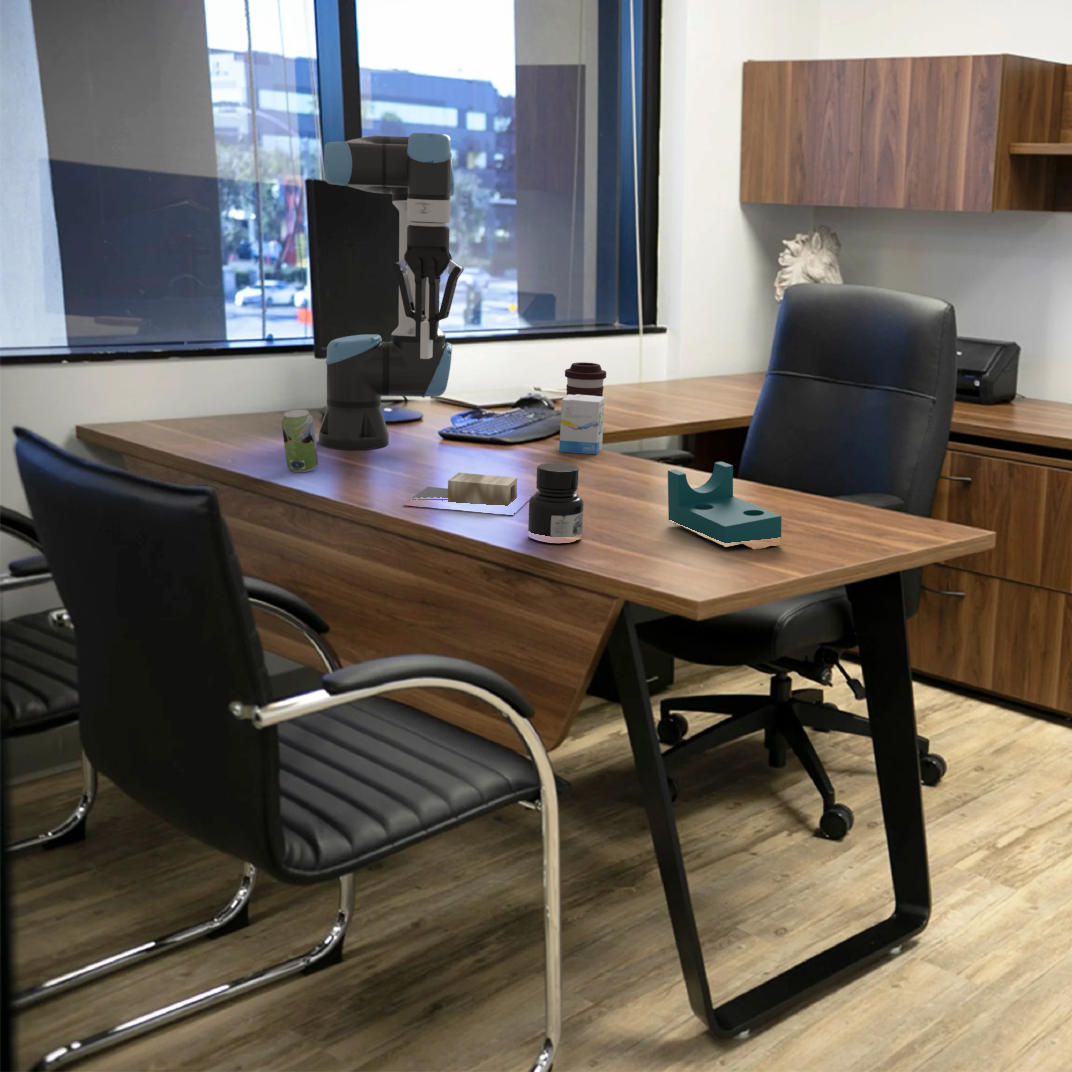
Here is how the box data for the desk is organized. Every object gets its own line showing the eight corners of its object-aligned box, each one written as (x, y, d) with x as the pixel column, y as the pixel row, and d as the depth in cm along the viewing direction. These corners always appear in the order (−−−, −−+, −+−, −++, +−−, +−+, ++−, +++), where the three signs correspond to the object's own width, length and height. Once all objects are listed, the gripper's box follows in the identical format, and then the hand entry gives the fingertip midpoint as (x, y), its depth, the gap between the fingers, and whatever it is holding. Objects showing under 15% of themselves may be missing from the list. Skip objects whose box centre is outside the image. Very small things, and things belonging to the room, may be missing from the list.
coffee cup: (556, 427, 314) (559, 364, 310) (571, 420, 323) (573, 360, 319) (595, 431, 310) (598, 368, 306) (609, 425, 319) (612, 363, 315)
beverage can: (323, 469, 260) (323, 409, 257) (305, 476, 253) (304, 414, 250) (295, 465, 262) (294, 406, 258) (276, 472, 255) (275, 411, 252)
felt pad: (404, 506, 233) (404, 503, 233) (427, 489, 246) (427, 486, 246) (513, 515, 229) (513, 513, 228) (531, 498, 242) (531, 495, 242)
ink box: (596, 455, 283) (599, 401, 280) (558, 452, 285) (560, 399, 282) (602, 447, 291) (605, 395, 288) (565, 444, 293) (567, 393, 290)
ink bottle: (562, 549, 209) (565, 476, 206) (516, 539, 213) (518, 468, 210) (592, 537, 217) (596, 466, 214) (547, 528, 221) (550, 458, 218)
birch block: (448, 480, 233) (508, 485, 231) (458, 472, 240) (517, 477, 238) (447, 502, 234) (508, 507, 232) (458, 493, 241) (517, 499, 239)
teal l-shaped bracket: (668, 528, 227) (667, 470, 223) (721, 518, 231) (721, 461, 228) (725, 556, 211) (724, 494, 208) (781, 545, 215) (781, 483, 212)
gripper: (386, 223, 229) (385, 358, 235) (458, 227, 226) (455, 363, 233) (399, 221, 236) (398, 352, 242) (469, 225, 233) (466, 357, 240)
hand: (426, 357), depth 237 cm, fingers closed
